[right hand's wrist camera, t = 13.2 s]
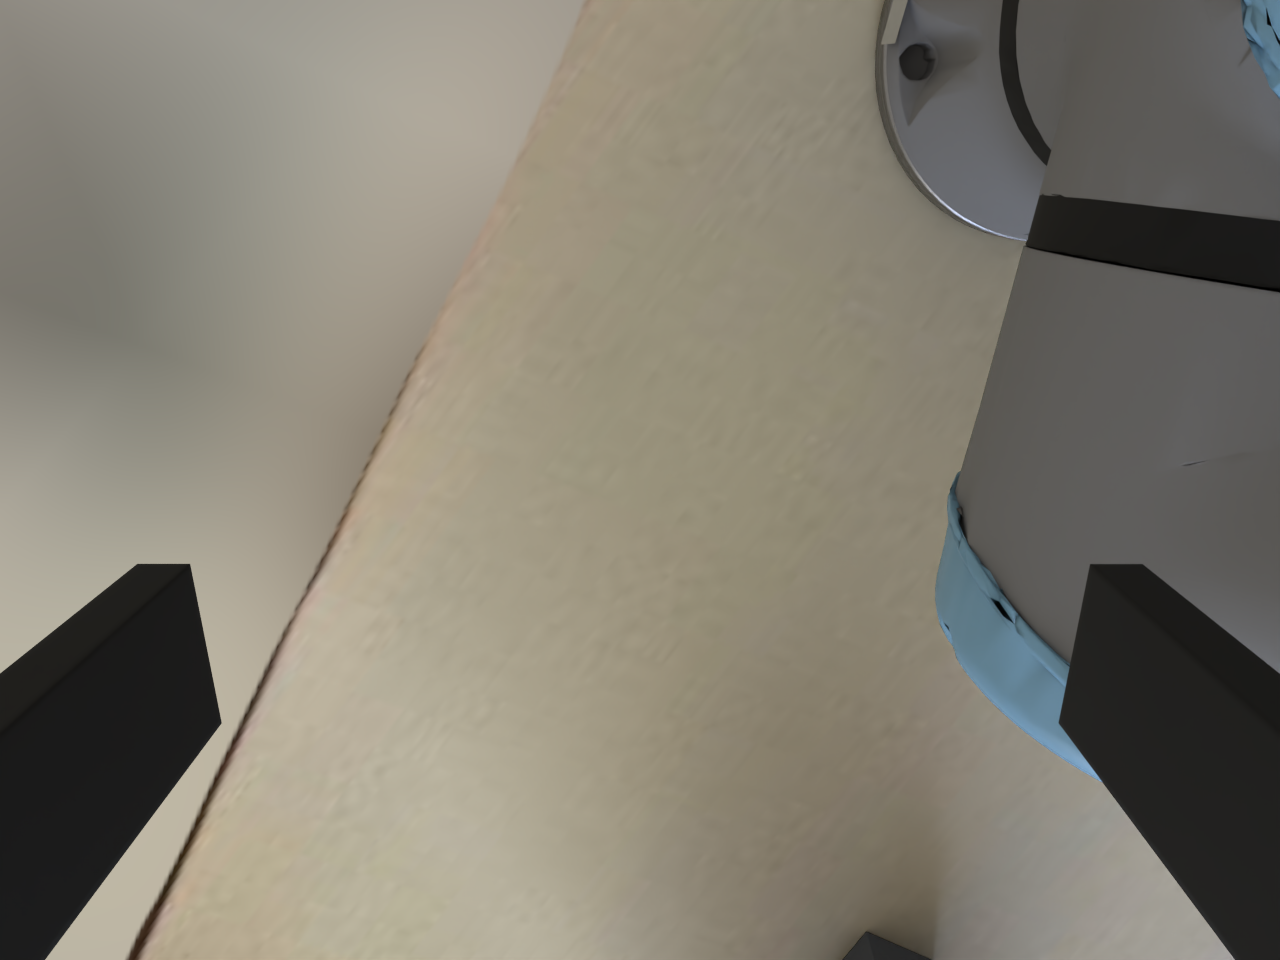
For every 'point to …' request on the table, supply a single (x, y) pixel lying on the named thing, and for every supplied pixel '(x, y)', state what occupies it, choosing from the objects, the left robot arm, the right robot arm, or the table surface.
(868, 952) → the grey rubber block
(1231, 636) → the right robot arm
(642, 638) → the table surface
